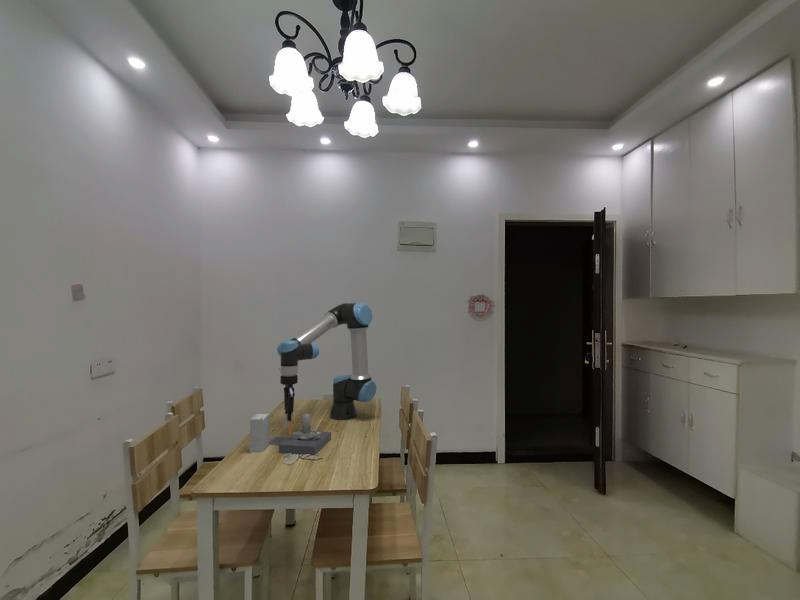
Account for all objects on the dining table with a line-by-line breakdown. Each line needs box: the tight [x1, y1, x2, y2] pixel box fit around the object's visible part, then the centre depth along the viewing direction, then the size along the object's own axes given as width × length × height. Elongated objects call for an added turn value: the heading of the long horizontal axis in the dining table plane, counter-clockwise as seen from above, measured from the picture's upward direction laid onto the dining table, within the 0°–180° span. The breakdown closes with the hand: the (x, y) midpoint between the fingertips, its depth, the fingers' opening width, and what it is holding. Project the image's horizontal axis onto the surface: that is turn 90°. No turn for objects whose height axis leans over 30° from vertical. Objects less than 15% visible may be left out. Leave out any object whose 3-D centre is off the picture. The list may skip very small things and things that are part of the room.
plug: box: [298, 412, 314, 441], centre depth 177 cm, size 7×7×14 cm
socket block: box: [278, 429, 332, 456], centre depth 177 cm, size 20×16×6 cm
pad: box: [269, 436, 288, 446], centre depth 183 cm, size 10×10×1 cm
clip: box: [288, 419, 322, 436], centre depth 176 cm, size 5×14×6 cm, turn 80°
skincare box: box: [249, 413, 270, 454], centre depth 173 cm, size 8×6×15 cm
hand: (288, 427), depth 180 cm, fingers closed
